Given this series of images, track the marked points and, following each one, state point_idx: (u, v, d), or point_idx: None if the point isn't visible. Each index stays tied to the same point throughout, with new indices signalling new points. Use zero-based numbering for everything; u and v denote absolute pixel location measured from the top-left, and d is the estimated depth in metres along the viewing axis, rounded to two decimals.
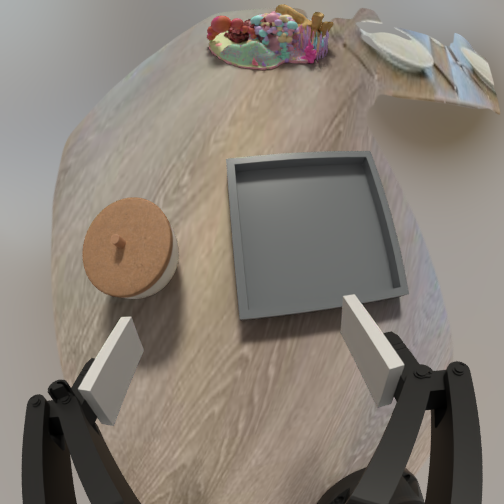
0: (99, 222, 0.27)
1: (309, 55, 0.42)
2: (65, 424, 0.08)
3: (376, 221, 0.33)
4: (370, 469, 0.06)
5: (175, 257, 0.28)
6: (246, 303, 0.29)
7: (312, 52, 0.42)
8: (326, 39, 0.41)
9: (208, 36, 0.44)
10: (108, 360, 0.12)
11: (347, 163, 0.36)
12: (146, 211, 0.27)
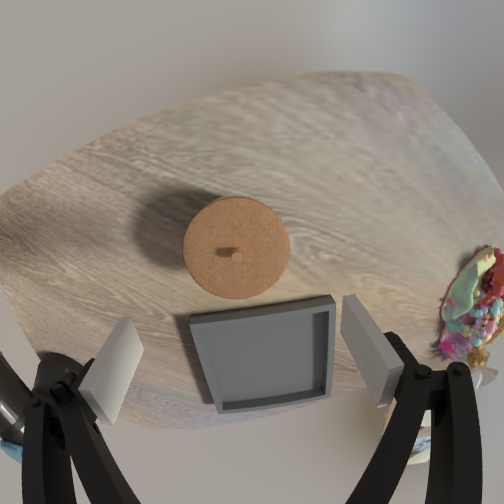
0: (260, 217, 0.26)
1: (445, 346, 0.43)
2: (65, 424, 0.08)
3: (273, 395, 0.44)
4: (370, 469, 0.06)
5: None
6: (202, 328, 0.36)
7: (446, 350, 0.42)
8: None
9: (497, 251, 0.36)
10: (108, 360, 0.12)
11: (323, 379, 0.43)
12: (271, 273, 0.28)
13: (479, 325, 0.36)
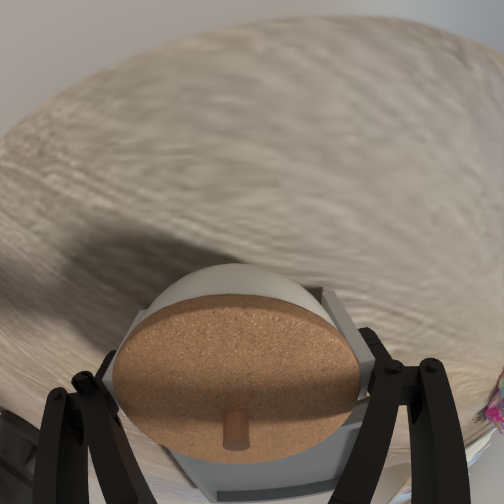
0: (304, 357, 0.09)
1: (492, 412, 0.25)
2: (86, 416, 0.08)
3: (282, 486, 0.27)
4: (349, 465, 0.06)
5: None
6: None
7: (493, 417, 0.25)
8: (498, 427, 0.24)
9: None
10: None
11: None
12: (309, 438, 0.11)
13: None
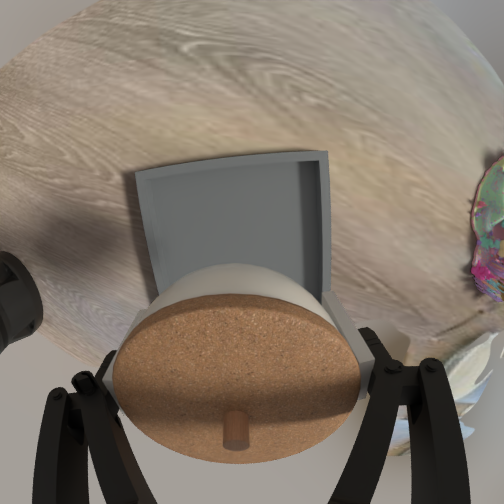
0: (304, 357, 0.09)
1: (479, 271, 0.33)
2: (86, 416, 0.08)
3: None
4: (349, 465, 0.06)
5: None
6: (150, 177, 0.26)
7: (482, 276, 0.32)
8: (493, 296, 0.32)
9: None
10: None
11: (318, 290, 0.33)
12: (309, 438, 0.11)
13: None
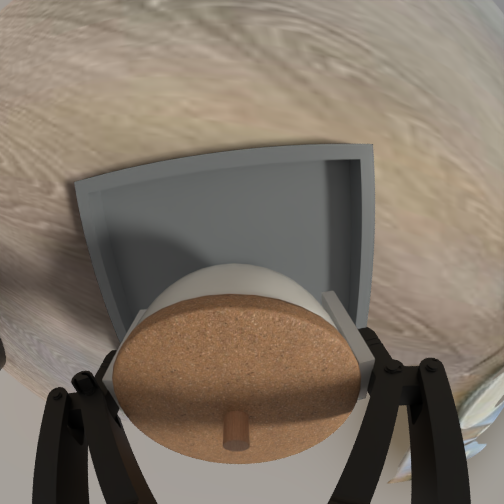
0: (304, 357, 0.09)
1: None
2: (86, 416, 0.08)
3: None
4: (349, 466, 0.06)
5: None
6: (94, 189, 0.16)
7: None
8: None
9: None
10: None
11: None
12: (309, 438, 0.11)
13: None
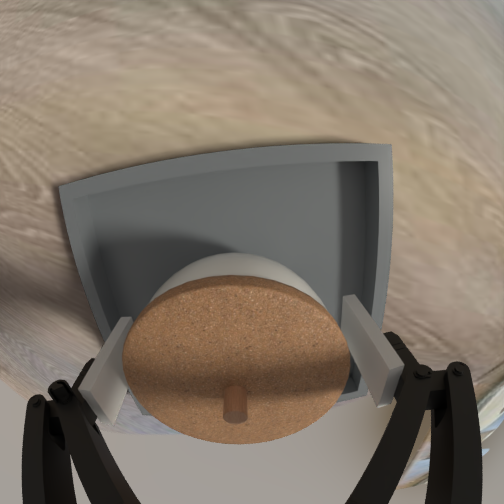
0: (296, 332, 0.10)
1: None
2: (65, 424, 0.08)
3: None
4: (370, 469, 0.06)
5: None
6: (80, 194, 0.14)
7: None
8: None
9: None
10: (108, 360, 0.12)
11: None
12: (304, 417, 0.12)
13: None
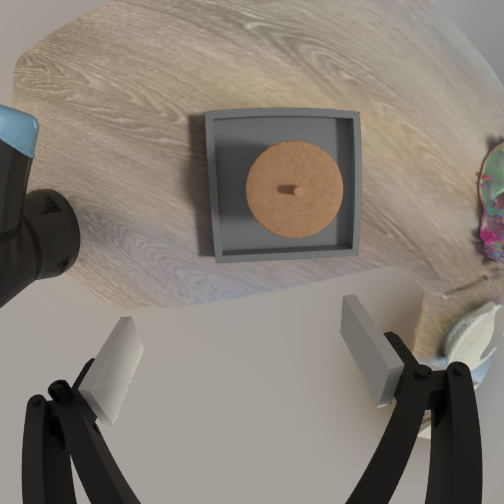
0: (321, 161, 0.27)
1: (486, 235, 0.37)
2: (65, 424, 0.08)
3: (288, 245, 0.39)
4: (370, 469, 0.06)
5: None
6: (218, 117, 0.31)
7: (488, 239, 0.37)
8: (499, 259, 0.36)
9: None
10: (108, 360, 0.12)
11: (349, 229, 0.38)
12: (324, 214, 0.29)
13: None
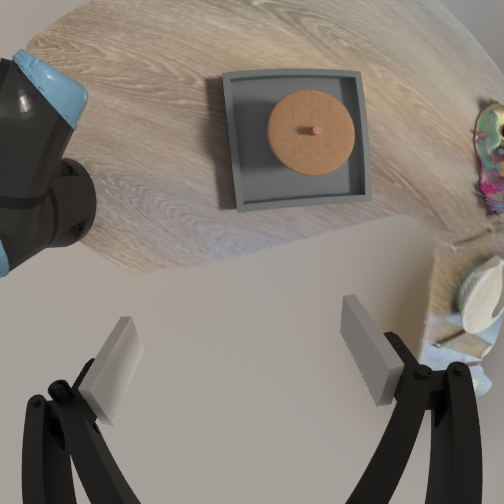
0: (333, 106, 0.28)
1: (487, 187, 0.38)
2: (65, 424, 0.08)
3: (305, 193, 0.40)
4: (370, 469, 0.06)
5: None
6: (234, 77, 0.32)
7: (489, 190, 0.38)
8: (501, 210, 0.37)
9: None
10: (108, 360, 0.12)
11: (360, 177, 0.39)
12: (340, 153, 0.30)
13: None
